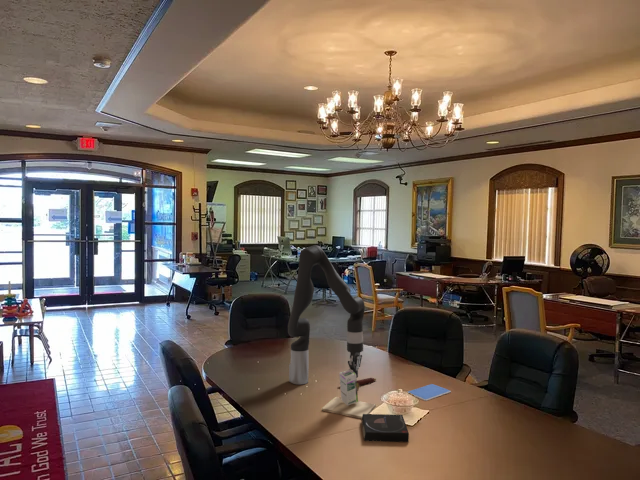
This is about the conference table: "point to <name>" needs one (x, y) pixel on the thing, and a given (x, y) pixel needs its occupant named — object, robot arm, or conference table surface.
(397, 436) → the portable cd player
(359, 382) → the gavel
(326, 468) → the conference table surface
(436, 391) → the tablet computer
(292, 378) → the robot arm
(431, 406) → the conference table surface
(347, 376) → the syrup box
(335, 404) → the folded beige cloth
